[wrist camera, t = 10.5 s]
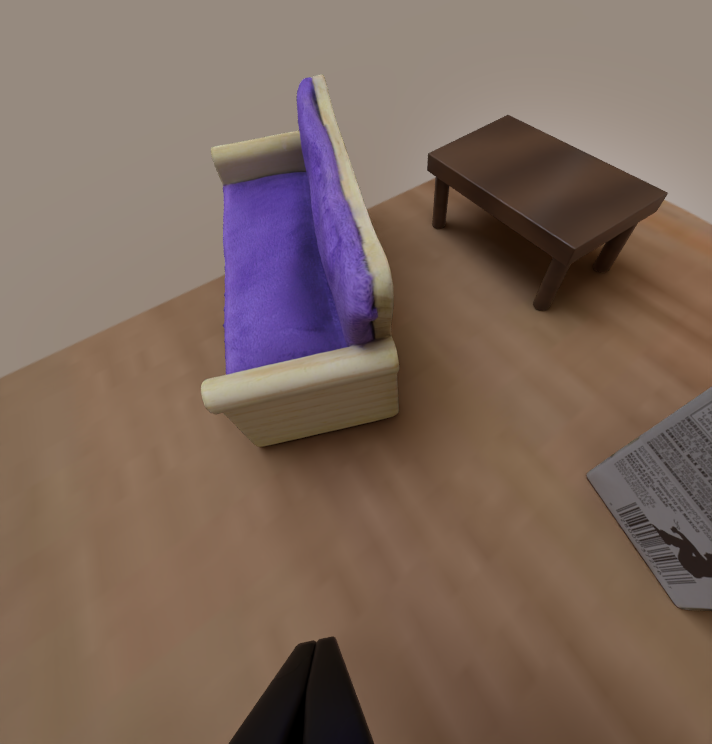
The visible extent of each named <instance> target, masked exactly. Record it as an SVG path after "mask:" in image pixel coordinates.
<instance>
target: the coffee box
mask: <svg viewBox="0 0 712 744" xmlns="http://www.w3.org/2000/svg"><path fill="white" fill-rule="evenodd" d="M587 478H588V479H589V481H590V482H591V484H592V485H593V487H594V488H595V489H596V491H597V492H598V494H599V495H600V497H601V498H602V500H603V501H604V503H605V504H606V505H607V507H608V508H609V510H610V511H611V513H612V514H613V516H614V517H615V518H616V520H617V521H618V523H619V524H620V526H621V527H622V529H623V530H624V531H625V533H626V534H627V536H628V537H629V539H630V540H631V542H632V543H633V544H634V546H635V547H636V549H637V550H638V552H639V553H640V555H641V556H642V557H643V559H644V560H645V562H646V563H647V565H648V566H649V567H650V569H651V570H652V572H653V573H654V575H655V576H656V578H657V579H658V581H659V582H660V583H661V585H662V586H663V588H664V589H665V591H666V592H667V594H668V595H669V596H670V598H671V599H672V601H673V602H674V603H675V605H676V606H677V607H679V608H681V609H685V610H700V611H712V387H711V388H709V389H708V390H706V391H705V392H703V393H702V394H700V395H699V396H697V397H696V398H695V399H693V400H692V401H690V402H689V403H687V404H686V405H684V406H683V407H681V408H680V409H679V410H677V411H676V412H674V413H673V414H671V415H670V416H668V417H667V418H666V419H664V420H663V421H661V422H660V423H658V424H657V425H655V426H654V427H652V428H651V429H650V430H648V431H647V432H645V433H644V434H642V435H640V436H639V437H638V438H636V439H634V440H633V441H631V442H630V443H629V444H627V445H626V446H625V447H623V448H622V449H620V450H619V451H617V452H616V453H614V454H613V455H612V456H610V457H609V458H607V459H606V460H604V461H603V462H602V463H600V464H599V465H597V466H596V467H595V468H593V469H592V470H590V471H589V472H588V473H587Z"/></svg>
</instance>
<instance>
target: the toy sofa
mask: <svg viewBox="0 0 712 744" xmlns="http://www.w3.org/2000/svg"><path fill="white" fill-rule="evenodd" d="M297 110H298V124H299V131H294V132H289V133H283V134H278V135H274V136H268V137H263V138H258V139H253V140H248V141H243V142H237V143H232V144H227V145H222V146H216V147H212V148H211V155H212V159H213V162H214V165H215V167H216V170H217V172H218V174H219V177H220V179H221V182H222V184H223V192H224V216H223V217H224V219H223V222H224V224H223V246H224V257H225V294H224V296H225V307H224V312H225V323H224V324H223V327H224V328H225V341H224V342H225V359H226V375H223V376H219V377H215V378H210V379H206V380H205V381H204V382H203V383H202V386H201V394H202V400H203V402H204V405H205V407H206V409H207V410H208V411H209V412H210V413H213V414H220V413H224V414H225V415H226V416H227V417H228V418H229V419H230V420H231V421H232V422H233V423H234V424H235V425H236V426H237V427H238V428H239V429H240V430H241V431H242V433H243V434H244V435H245V436H246V437H247V438H248V439H249V440H250V441H251V442H252V443H253V444H254V445H256V446H258V447H263V446H267V445H272V444H277V443H281V442H286V441H290V440H295V439H299V438H303V437H307V436H312V435H316V434H320V433H325V432H329V431H334V430H338V429H343V428H347V427H351V426H356V425H360V424H364V423H369V422H373V421H377V420H381V419H385V418H389V417H393V416H395V415H396V414H398V412H399V403H398V384H397V372H398V371H399V361H398V355H397V350H396V346H395V343H394V341H393V339H392V335H391V323H392V315H393V305H394V298H393V283H392V276H391V270H390V267H389V264H388V260H387V257H386V255H385V253H384V251H383V248H382V246H381V244H380V242H379V240H378V237H377V235H376V233H375V231H374V228H373V226H372V223H371V220H370V217H369V214H368V211H367V209H366V206H365V203H364V200H363V197H362V194H361V192H360V188H359V185H358V183H357V180H356V177H355V174H354V172H353V168H352V165H351V162H350V159H349V156H348V154H347V150H346V148H345V144H344V142H343V139H342V136H341V133H340V130H339V127H338V124H337V121H336V118H335V115H334V111H333V108H332V104H331V100H330V96H329V92H328V88H327V84H326V81H325V77H324V75H316V76H314V77H312V78H305V79H303V80H302V82H301V83H300V85H299V88H298V91H297Z"/></svg>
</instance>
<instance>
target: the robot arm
mask: <svg viewBox="0 0 712 744" xmlns="http://www.w3.org/2000/svg"><path fill="white" fill-rule="evenodd" d="M229 744H374V742H373V739H372V736H371V734H370V731H369V728H368V725H367V723H366V720H365V717H364V714H363V712H362V709H361V706H360V703H359V701H358V698H357V695H356V693H355V690H354V687H353V684H352V682H351V679H350V676H349V673H348V671H347V668H346V665H345V662H344V660H343V657H342V654H341V651H340V649H339V646H338V643H337V640H336V638H335V637H328V638H323V639H319V640H318V641H317V642H316V641H309V642H304V643H300V644H298V645H297V646H296V647H295V649H294V650H293V652H292V653H291V655H290V656H289V657H288V659H287V660H286V662H285V663H284V665H283V666H282V668H281V669H280V670H279V672H278V673H277V675H276V676H275V678H274V679H273V680H272V682H271V683H270V685H269V686H268V688H267V689H266V691H265V692H264V693H263V695H262V696H261V698H260V699H259V701H258V702H257V704H256V705H255V706H254V708H253V709H252V711H251V712H250V714H249V715H248V716H247V718H246V719H245V721H244V722H243V724H242V725H241V727H240V728H239V729H238V731H237V732H236V734H235V735H234V737H233V738H232V739H231V741H230V742H229Z"/></svg>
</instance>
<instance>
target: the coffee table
mask: <svg viewBox="0 0 712 744" xmlns="http://www.w3.org/2000/svg"><path fill="white" fill-rule="evenodd" d="M427 170H428V171H429V172H430V173H432V174H433V175H434V176H436V179H435V193H434V207H433V221H432V225H433V227H435V228H443V227H444V226H445V223H446V213H447V204H448V194H449V186H450V187H452V188H453V189H455V190H456V191H458V192H459V193H461V194H462V195H464V196H465V197H466V198H468V199H469V200H471V201H472V202H474V203H475V204H477V205H478V206H480V207H481V208H482V209H484V210H485V211H487V212H488V213H490V214H491V215H493V216H494V217H495V218H497V219H498V220H500V221H501V222H503V223H504V224H506V225H507V226H509V227H510V228H511V229H513V230H514V231H516V232H517V233H519V234H520V235H522V236H523V237H525V238H526V239H527V240H529V241H530V242H532V243H533V244H535V245H536V246H538V247H539V248H540V249H542V250H543V251H545V252H546V253H548V254H549V255H551V256H552V257H553V258H552V260H551V263H550V265H549V267H548V270H547V272H546V274H545V277H544V279H543V281H542V284H541V286H540V288H539V291H538V293H537V295H536V298H535V300H534V302H533V305H534V307H535V308H536V309H538V310H541V311H544V310H547V309H548V308H549V307H550V305H551V303H552V301H553V299H554V297H555V295H556V293H557V291H558V289H559V287H560V285H561V283H562V281H563V279H564V277H565V275H566V273H567V271H568V268H569V266H570V264H572V263H573V262H575V261H576V260H578V259H580V258H581V257H583V256H585V255H586V254H588V253H589V252H591V251H593V250H594V249H596V248H598V247H599V246H601V245H603V244H604V243H605V245H604V247H603V248H602V250H601V252H600V254H599V256H598V257H597V259H596V261H595V263H594V264H593V268H594V269H595V270H596V271H598V272H607V271H608V270H609V269H610V267H611V266H612V264H613V263H614V261H615V259H616V258H617V256H618V255H619V253H620V251H621V250H622V248H623V246H624V245H625V243H626V242H627V240H628V238H629V237H630V235H631V233H632V232H633V230H634V229H635V227H636V225H637V224H638V222H640V221H642V220H643V219H645V218H647V217H648V216H650V215H652V214H653V213H655V212H656V211H657V210H658V208H659V207H660V205H661V203H662V202H663V200H664V199H665V197H666V196H667V192H665V191H663V190H661V189H659V188H657V187H655V186H653V185H651V184H649V183H647V182H645V181H643V180H641V179H639V178H637V177H635V176H632V175H630V174H628V173H626V172H624V171H622V170H620V169H618V168H616V167H614V166H612V165H610V164H608V163H605V162H603V161H602V160H600V159H598V158H596V157H594V156H591V155H589V154H587V153H585V152H583V151H581V150H579V149H577V148H575V147H573V146H571V145H569V144H567V143H565V142H563V141H560V140H559V139H557V138H555V137H553V136H551V135H548V134H546V133H544V132H542V131H540V130H538V129H536V128H534V127H532V126H530V125H528V124H526V123H524V122H522V121H519V120H518V119H515V118H513V117H511V116H509V115H507V116H504V117H503V118H500V119H498V120H496V121H494V122H492V123H490V124H488V125H486V126H484V127H482V128H480V129H478V130H476V131H474V132H472V133H469V134H467V135H465V136H463V137H461V138H459V139H457V140H455V141H453V142H451V143H449V144H447V145H445V146H443V147H441V148H439V149H436V150H435V151H432V152H431V153H428V166H427Z"/></svg>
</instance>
